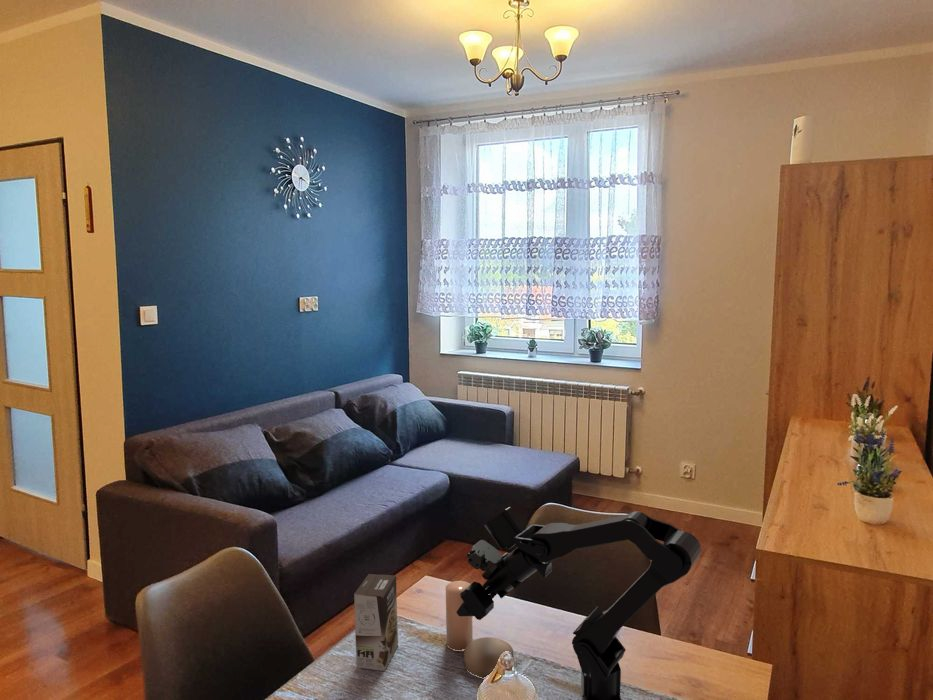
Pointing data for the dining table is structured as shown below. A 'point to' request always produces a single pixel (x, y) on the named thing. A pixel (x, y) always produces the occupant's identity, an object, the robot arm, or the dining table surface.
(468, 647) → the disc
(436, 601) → the dining table surface
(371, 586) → the coffee box
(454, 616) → the candle
